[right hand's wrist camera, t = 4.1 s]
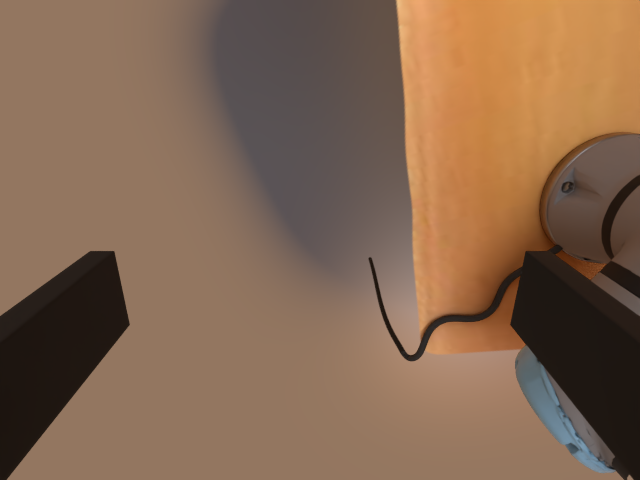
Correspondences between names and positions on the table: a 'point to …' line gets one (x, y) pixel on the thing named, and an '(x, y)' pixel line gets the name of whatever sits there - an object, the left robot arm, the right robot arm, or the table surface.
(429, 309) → the table surface
